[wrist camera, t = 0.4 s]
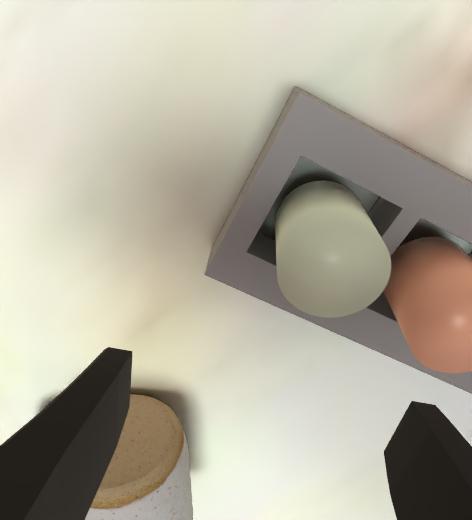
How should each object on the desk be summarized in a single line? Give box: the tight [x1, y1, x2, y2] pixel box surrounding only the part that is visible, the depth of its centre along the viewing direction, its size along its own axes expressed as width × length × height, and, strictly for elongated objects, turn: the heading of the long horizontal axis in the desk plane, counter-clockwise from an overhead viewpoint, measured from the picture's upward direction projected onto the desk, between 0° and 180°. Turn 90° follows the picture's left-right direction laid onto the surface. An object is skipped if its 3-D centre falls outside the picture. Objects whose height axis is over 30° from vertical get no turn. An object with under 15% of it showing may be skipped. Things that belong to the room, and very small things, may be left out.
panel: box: [205, 86, 472, 393], centre depth 17 cm, size 17×8×2 cm, turn 64°
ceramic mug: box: [85, 394, 193, 520], centre depth 23 cm, size 11×8×8 cm
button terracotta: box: [383, 237, 472, 373], centre depth 15 cm, size 4×4×4 cm
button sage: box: [275, 181, 391, 318], centre depth 14 cm, size 4×4×4 cm
